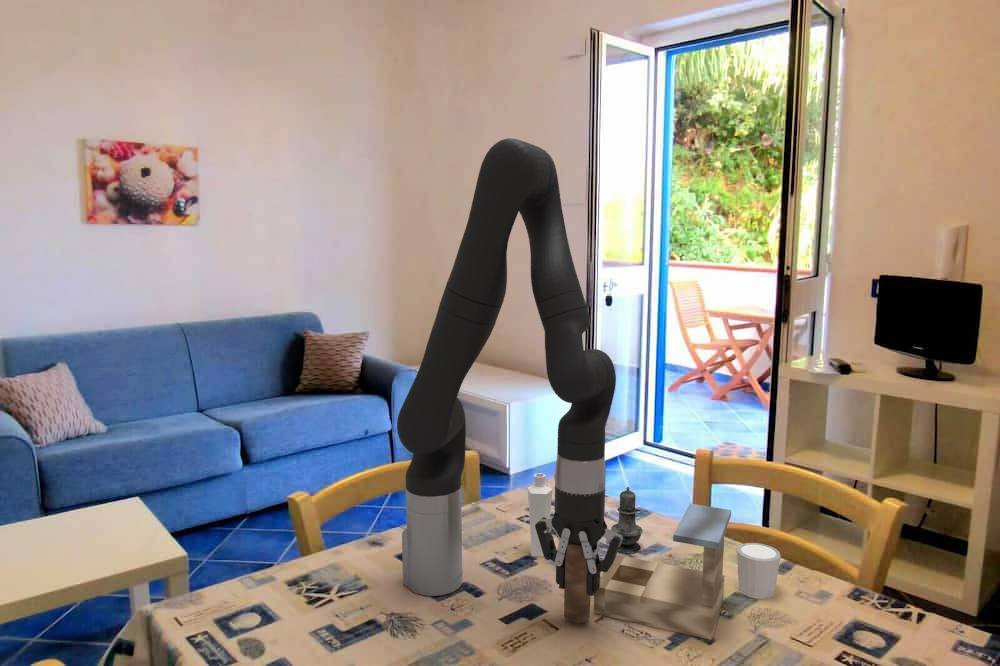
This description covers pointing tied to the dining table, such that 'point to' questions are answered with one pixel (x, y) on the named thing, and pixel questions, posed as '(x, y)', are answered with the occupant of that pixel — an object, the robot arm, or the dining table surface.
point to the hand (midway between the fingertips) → (577, 589)
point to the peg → (576, 585)
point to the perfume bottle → (538, 510)
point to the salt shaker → (628, 523)
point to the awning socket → (671, 581)
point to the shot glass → (757, 570)
